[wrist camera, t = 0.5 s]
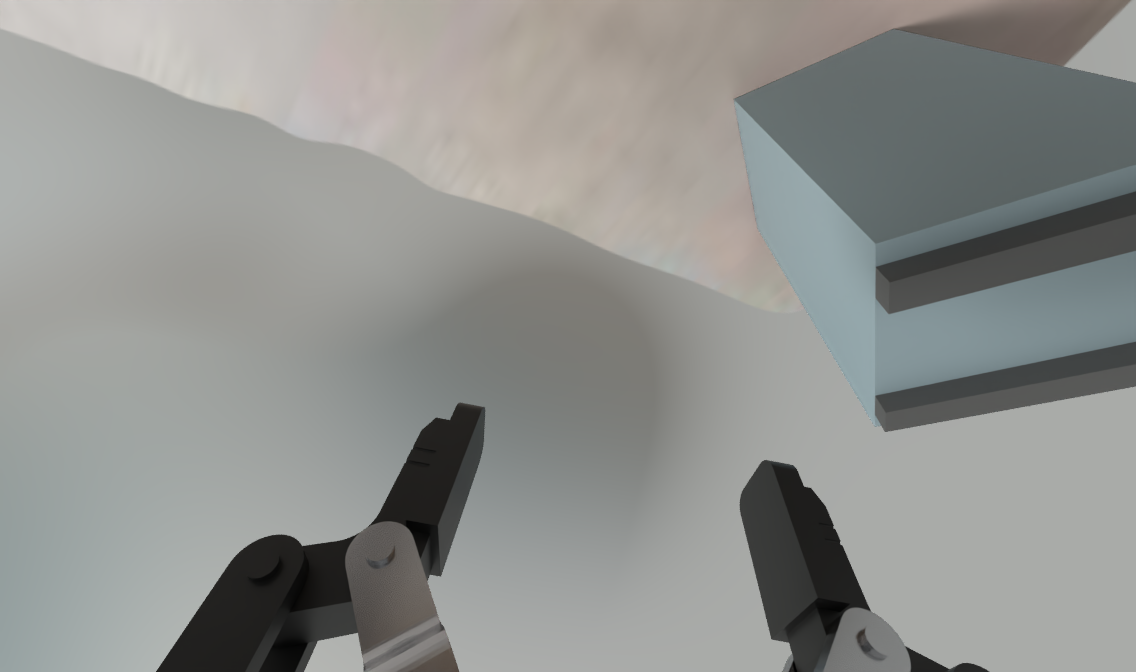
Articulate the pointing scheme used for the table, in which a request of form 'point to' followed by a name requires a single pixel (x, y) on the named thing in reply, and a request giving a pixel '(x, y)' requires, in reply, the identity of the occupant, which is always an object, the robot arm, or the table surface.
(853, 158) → the blue grey angular block
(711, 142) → the table surface
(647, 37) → the table surface
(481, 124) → the table surface
